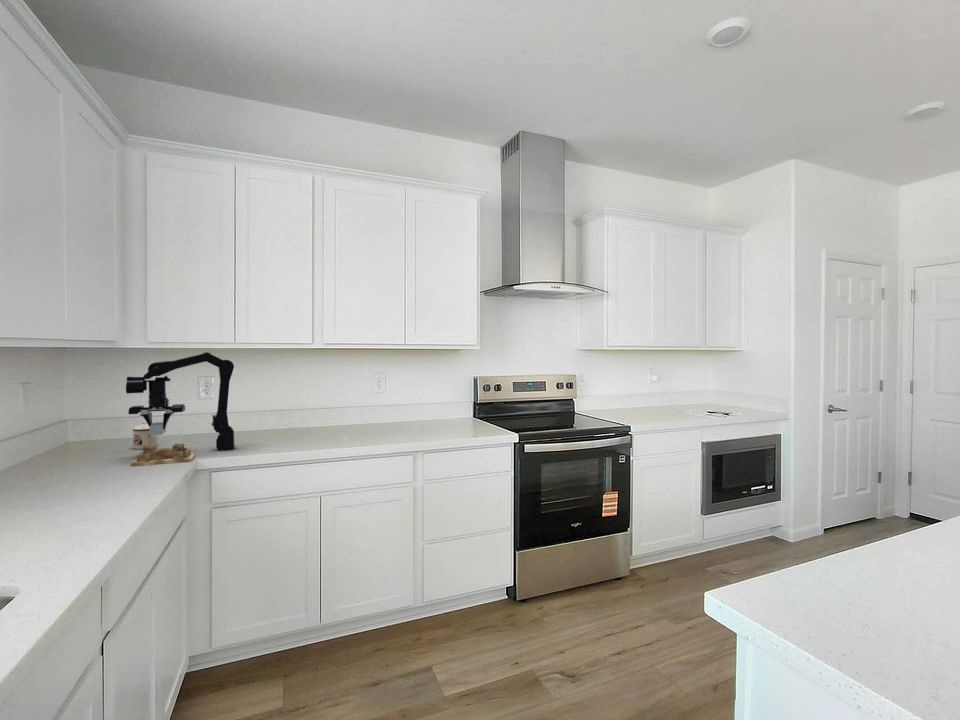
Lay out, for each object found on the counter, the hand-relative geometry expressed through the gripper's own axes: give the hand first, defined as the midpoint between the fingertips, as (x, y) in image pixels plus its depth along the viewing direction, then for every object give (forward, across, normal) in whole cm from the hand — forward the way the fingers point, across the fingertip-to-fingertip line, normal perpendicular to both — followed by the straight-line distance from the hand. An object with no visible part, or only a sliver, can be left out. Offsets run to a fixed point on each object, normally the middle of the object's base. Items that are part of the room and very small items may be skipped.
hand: (158, 429), depth 193 cm
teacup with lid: (+11, +8, -19) cm, 24 cm away
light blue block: (+2, 0, 0) cm, 2 cm away
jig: (+11, -4, +11) cm, 16 cm away
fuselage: (+10, -4, +11) cm, 16 cm away
